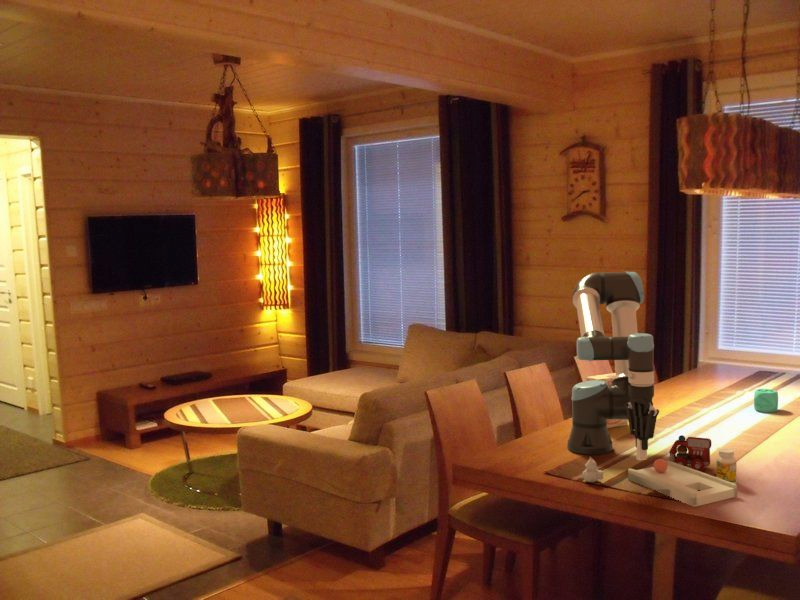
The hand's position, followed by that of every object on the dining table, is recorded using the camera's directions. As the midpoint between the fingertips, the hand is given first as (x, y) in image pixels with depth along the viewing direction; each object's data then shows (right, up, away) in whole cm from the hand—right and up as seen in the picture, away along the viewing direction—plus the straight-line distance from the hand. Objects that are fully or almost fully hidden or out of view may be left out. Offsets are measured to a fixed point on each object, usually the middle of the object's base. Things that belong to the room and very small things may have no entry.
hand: (641, 459), depth 236 cm
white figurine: (-17, -6, -6) cm, 18 cm away
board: (+7, -6, -14) cm, 16 cm away
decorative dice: (+73, +5, +72) cm, 103 cm away
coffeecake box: (+5, +1, +58) cm, 58 cm away
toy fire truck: (+16, -4, +4) cm, 17 cm away
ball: (+3, -1, -7) cm, 8 cm away
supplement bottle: (+22, -5, -10) cm, 25 cm away
